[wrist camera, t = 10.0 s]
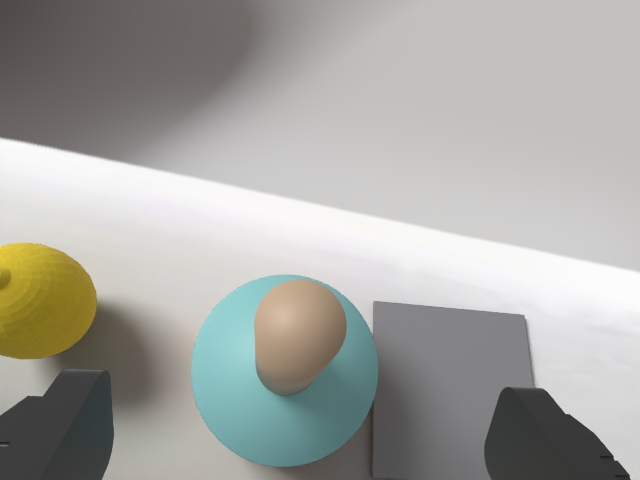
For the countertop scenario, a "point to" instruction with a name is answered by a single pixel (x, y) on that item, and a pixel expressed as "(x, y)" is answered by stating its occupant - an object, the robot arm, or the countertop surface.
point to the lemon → (42, 301)
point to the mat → (441, 387)
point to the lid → (284, 370)
